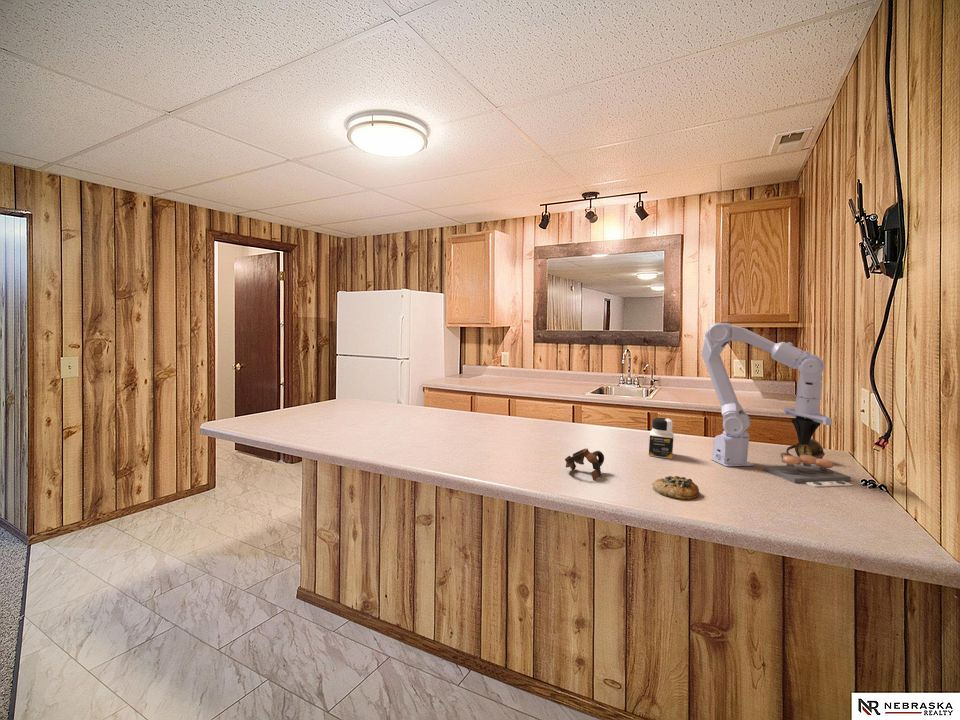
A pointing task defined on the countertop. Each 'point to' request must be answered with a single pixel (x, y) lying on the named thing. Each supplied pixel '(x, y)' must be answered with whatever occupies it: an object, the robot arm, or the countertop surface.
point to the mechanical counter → (807, 449)
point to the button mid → (807, 460)
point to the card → (829, 483)
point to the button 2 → (823, 464)
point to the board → (806, 473)
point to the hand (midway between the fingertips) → (803, 444)
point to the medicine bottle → (661, 438)
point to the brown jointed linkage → (591, 457)
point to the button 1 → (791, 460)
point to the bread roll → (676, 487)
